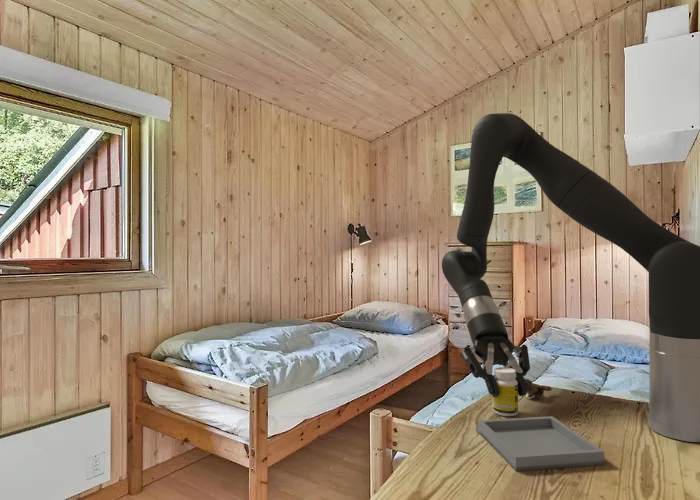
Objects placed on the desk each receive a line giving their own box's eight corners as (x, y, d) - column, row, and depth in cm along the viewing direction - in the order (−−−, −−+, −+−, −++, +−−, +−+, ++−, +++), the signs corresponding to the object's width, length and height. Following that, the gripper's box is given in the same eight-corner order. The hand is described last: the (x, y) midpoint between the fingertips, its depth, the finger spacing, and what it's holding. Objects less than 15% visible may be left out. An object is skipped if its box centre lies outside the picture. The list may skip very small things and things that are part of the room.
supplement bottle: (520, 417, 87) (519, 373, 87) (494, 416, 88) (493, 372, 88) (516, 408, 92) (515, 367, 92) (491, 407, 93) (491, 366, 93)
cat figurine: (516, 396, 98) (519, 377, 98) (543, 398, 101) (546, 380, 101) (525, 400, 96) (528, 381, 96) (553, 402, 99) (556, 384, 99)
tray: (552, 427, 83) (552, 416, 83) (604, 464, 69) (604, 451, 69) (477, 431, 81) (477, 420, 81) (515, 470, 67) (515, 457, 67)
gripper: (456, 312, 96) (479, 387, 84) (521, 310, 98) (552, 383, 86) (448, 332, 101) (469, 405, 90) (509, 330, 103) (537, 402, 91)
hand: (509, 394), depth 88 cm, fingers closed on supplement bottle, 4 cm apart
